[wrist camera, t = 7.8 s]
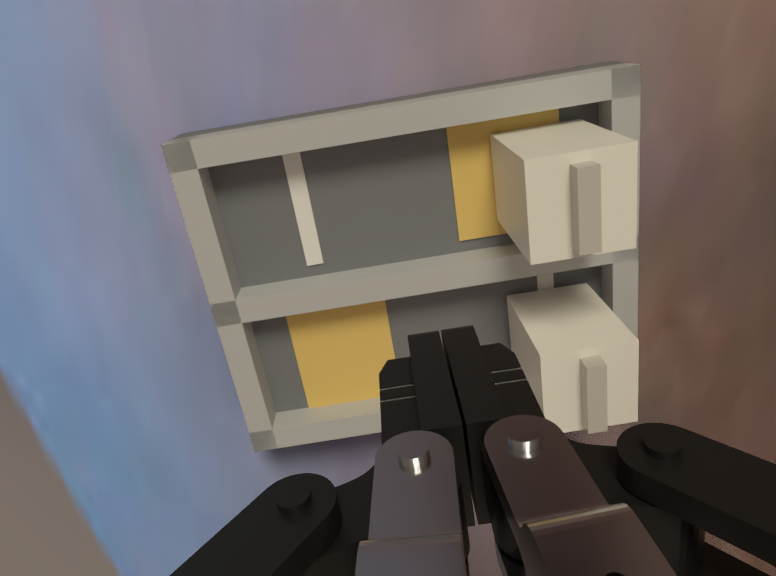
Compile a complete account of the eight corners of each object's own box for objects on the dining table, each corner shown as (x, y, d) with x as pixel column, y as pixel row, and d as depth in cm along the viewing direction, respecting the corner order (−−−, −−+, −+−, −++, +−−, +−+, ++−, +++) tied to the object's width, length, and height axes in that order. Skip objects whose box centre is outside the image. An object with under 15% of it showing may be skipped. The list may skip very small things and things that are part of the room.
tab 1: (579, 118, 26) (647, 145, 20) (581, 205, 28) (645, 255, 22) (489, 133, 26) (529, 164, 20) (497, 219, 28) (536, 272, 22)
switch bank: (611, 61, 27) (640, 64, 24) (613, 362, 33) (636, 392, 30) (181, 134, 27) (161, 145, 25) (263, 417, 34) (255, 451, 31)
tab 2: (586, 282, 29) (647, 349, 23) (588, 352, 31) (645, 432, 25) (506, 295, 29) (545, 365, 23) (512, 364, 31) (550, 447, 25)
